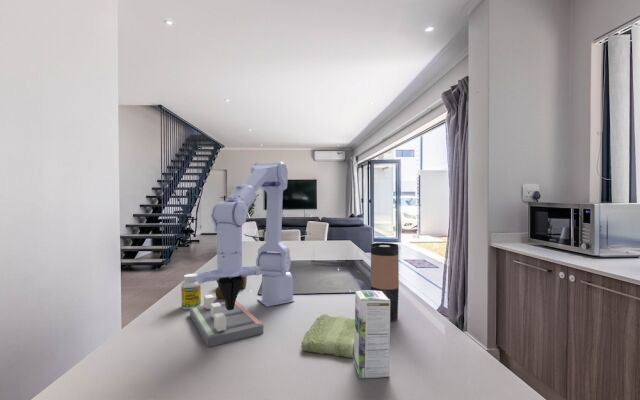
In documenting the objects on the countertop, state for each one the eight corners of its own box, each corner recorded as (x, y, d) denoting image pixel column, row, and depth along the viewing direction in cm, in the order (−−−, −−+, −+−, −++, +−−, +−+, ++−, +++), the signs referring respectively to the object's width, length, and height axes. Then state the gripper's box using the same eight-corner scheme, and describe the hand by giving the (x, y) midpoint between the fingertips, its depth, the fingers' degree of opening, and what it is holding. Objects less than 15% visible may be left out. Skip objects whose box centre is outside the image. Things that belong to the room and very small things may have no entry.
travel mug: (400, 314, 87) (401, 243, 87) (395, 324, 80) (395, 247, 80) (374, 309, 90) (374, 242, 90) (367, 319, 83) (367, 245, 83)
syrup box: (353, 362, 61) (353, 290, 61) (382, 361, 62) (382, 289, 62) (359, 379, 55) (359, 299, 55) (391, 377, 56) (391, 298, 56)
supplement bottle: (198, 302, 96) (198, 272, 96) (202, 307, 92) (202, 275, 92) (180, 305, 93) (180, 274, 93) (183, 311, 89) (183, 278, 89)
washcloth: (367, 327, 79) (367, 315, 79) (357, 363, 62) (357, 347, 62) (318, 322, 82) (318, 310, 82) (296, 354, 65) (296, 339, 65)
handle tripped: (222, 325, 74) (222, 312, 74) (226, 329, 71) (226, 316, 71) (214, 326, 72) (214, 314, 72) (217, 331, 70) (217, 318, 70)
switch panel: (235, 306, 93) (235, 299, 93) (263, 333, 74) (263, 324, 74) (189, 315, 86) (189, 307, 86) (207, 347, 67) (207, 337, 67)
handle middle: (218, 313, 81) (218, 302, 81) (221, 317, 78) (221, 305, 78) (210, 315, 80) (210, 303, 80) (213, 319, 77) (213, 307, 77)
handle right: (211, 304, 88) (211, 294, 88) (214, 307, 85) (214, 297, 85) (204, 306, 87) (204, 295, 87) (206, 309, 84) (206, 298, 84)
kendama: (207, 302, 98) (223, 283, 118) (237, 302, 99) (249, 283, 119) (207, 284, 98) (224, 268, 118) (238, 284, 99) (249, 268, 118)
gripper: (201, 257, 66) (201, 320, 66) (264, 251, 73) (264, 307, 74) (194, 252, 72) (195, 310, 72) (254, 247, 79) (254, 299, 79)
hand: (229, 308), depth 73 cm, fingers closed
